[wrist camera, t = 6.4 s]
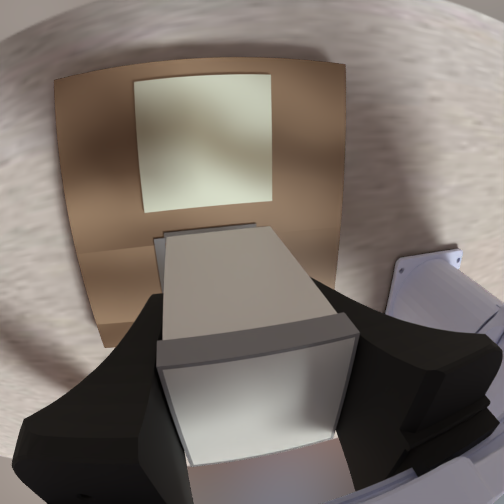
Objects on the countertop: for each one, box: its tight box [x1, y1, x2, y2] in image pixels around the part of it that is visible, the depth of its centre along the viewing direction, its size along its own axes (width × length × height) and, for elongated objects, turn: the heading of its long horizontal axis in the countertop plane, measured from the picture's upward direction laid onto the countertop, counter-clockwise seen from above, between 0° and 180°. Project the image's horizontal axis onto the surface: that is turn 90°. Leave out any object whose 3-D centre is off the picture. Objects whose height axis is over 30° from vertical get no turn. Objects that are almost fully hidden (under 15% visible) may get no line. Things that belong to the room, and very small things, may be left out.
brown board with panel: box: [54, 57, 346, 348], centre depth 18 cm, size 17×16×2 cm
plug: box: [156, 226, 360, 467], centre depth 10 cm, size 4×4×7 cm
